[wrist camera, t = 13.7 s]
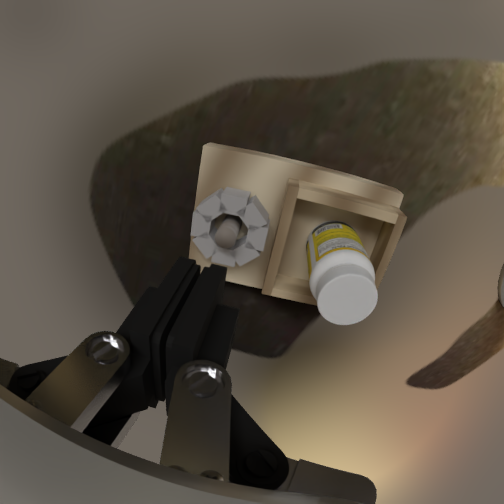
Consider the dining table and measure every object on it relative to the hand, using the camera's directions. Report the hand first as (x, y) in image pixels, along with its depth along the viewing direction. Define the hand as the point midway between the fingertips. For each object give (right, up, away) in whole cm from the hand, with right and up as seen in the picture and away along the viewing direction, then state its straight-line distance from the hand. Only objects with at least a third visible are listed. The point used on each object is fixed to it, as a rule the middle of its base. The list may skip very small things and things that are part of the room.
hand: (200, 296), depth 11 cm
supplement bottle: (+9, +2, +15) cm, 18 cm away
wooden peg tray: (+5, +4, +17) cm, 18 cm away
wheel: (0, +4, +15) cm, 16 cm away
